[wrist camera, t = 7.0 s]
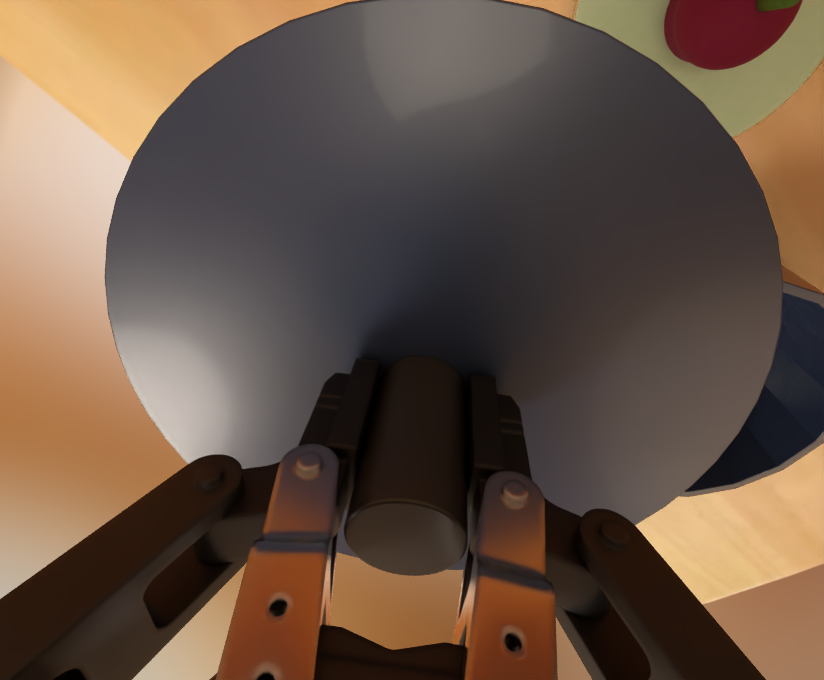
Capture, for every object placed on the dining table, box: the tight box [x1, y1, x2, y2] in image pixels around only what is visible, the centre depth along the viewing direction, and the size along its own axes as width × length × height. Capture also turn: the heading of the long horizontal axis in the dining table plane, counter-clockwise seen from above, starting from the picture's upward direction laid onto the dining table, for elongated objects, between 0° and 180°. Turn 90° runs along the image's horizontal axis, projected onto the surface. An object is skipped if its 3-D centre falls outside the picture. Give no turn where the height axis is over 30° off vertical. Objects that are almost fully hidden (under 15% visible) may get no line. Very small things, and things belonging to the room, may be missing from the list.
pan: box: [679, 266, 824, 497], centre depth 32 cm, size 18×18×8 cm
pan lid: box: [105, 0, 783, 576], centre depth 12 cm, size 19×19×6 cm
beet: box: [664, 0, 803, 70], centre depth 21 cm, size 5×5×7 cm
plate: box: [573, 0, 824, 137], centre depth 24 cm, size 14×14×1 cm
